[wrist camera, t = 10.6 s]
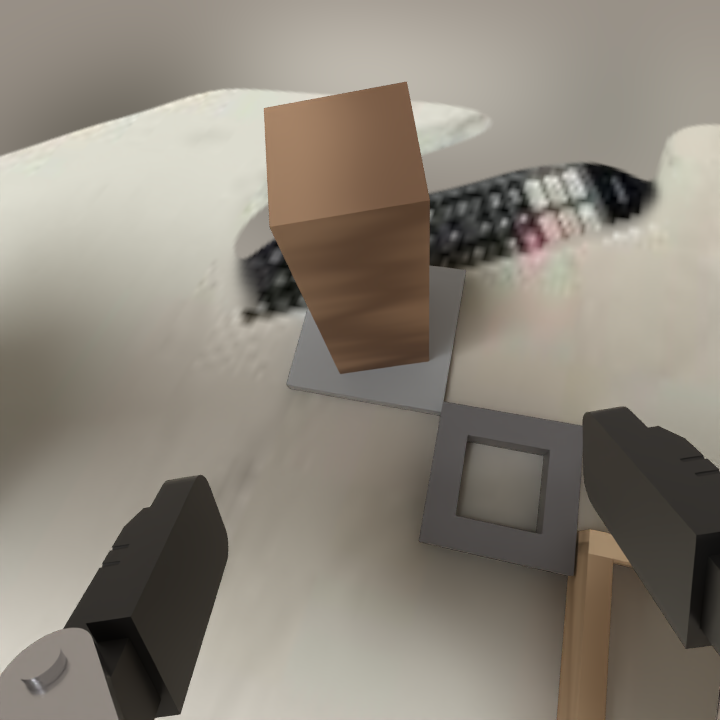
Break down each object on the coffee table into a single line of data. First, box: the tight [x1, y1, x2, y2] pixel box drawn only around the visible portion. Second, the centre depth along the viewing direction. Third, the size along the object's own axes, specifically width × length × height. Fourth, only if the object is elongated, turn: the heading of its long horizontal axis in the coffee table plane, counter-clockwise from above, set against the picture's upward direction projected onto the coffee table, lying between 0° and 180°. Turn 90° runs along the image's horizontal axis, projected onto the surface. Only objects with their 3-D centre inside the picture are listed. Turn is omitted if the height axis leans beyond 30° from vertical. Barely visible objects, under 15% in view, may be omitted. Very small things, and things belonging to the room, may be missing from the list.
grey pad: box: [286, 265, 466, 416], centre depth 24 cm, size 7×7×1 cm
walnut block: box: [264, 82, 430, 374], centre depth 18 cm, size 4×4×11 cm
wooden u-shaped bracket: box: [557, 529, 633, 720], centre depth 17 cm, size 9×8×2 cm
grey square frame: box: [419, 401, 583, 576], centre depth 20 cm, size 6×6×1 cm
